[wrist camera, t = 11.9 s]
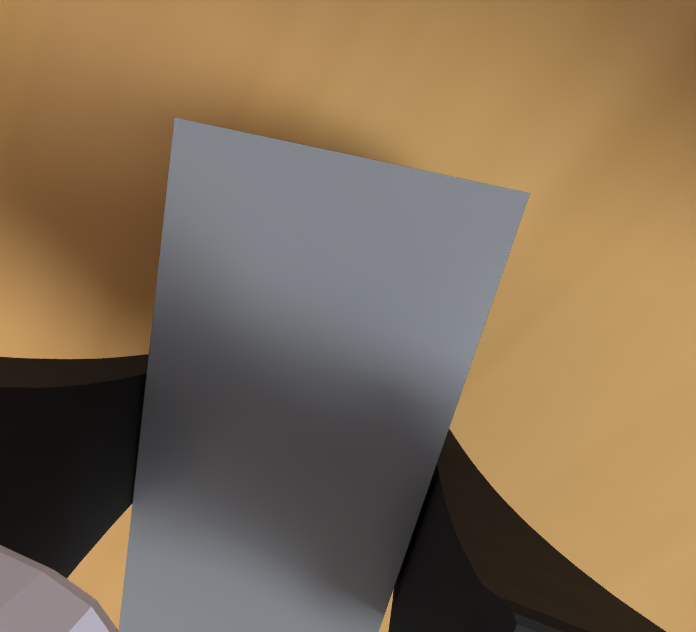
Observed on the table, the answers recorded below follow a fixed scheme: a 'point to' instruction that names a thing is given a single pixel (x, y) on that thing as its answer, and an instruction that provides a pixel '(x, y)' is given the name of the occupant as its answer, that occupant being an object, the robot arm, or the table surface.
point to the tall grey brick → (300, 379)
